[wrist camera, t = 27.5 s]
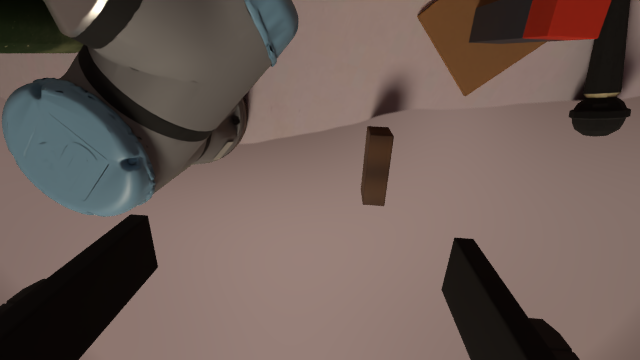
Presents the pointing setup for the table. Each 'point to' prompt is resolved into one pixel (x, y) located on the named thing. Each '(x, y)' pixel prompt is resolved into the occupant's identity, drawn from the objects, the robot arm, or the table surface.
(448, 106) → the table surface
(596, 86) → the microphone
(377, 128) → the board eraser
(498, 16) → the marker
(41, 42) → the green bottle
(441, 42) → the coaster
